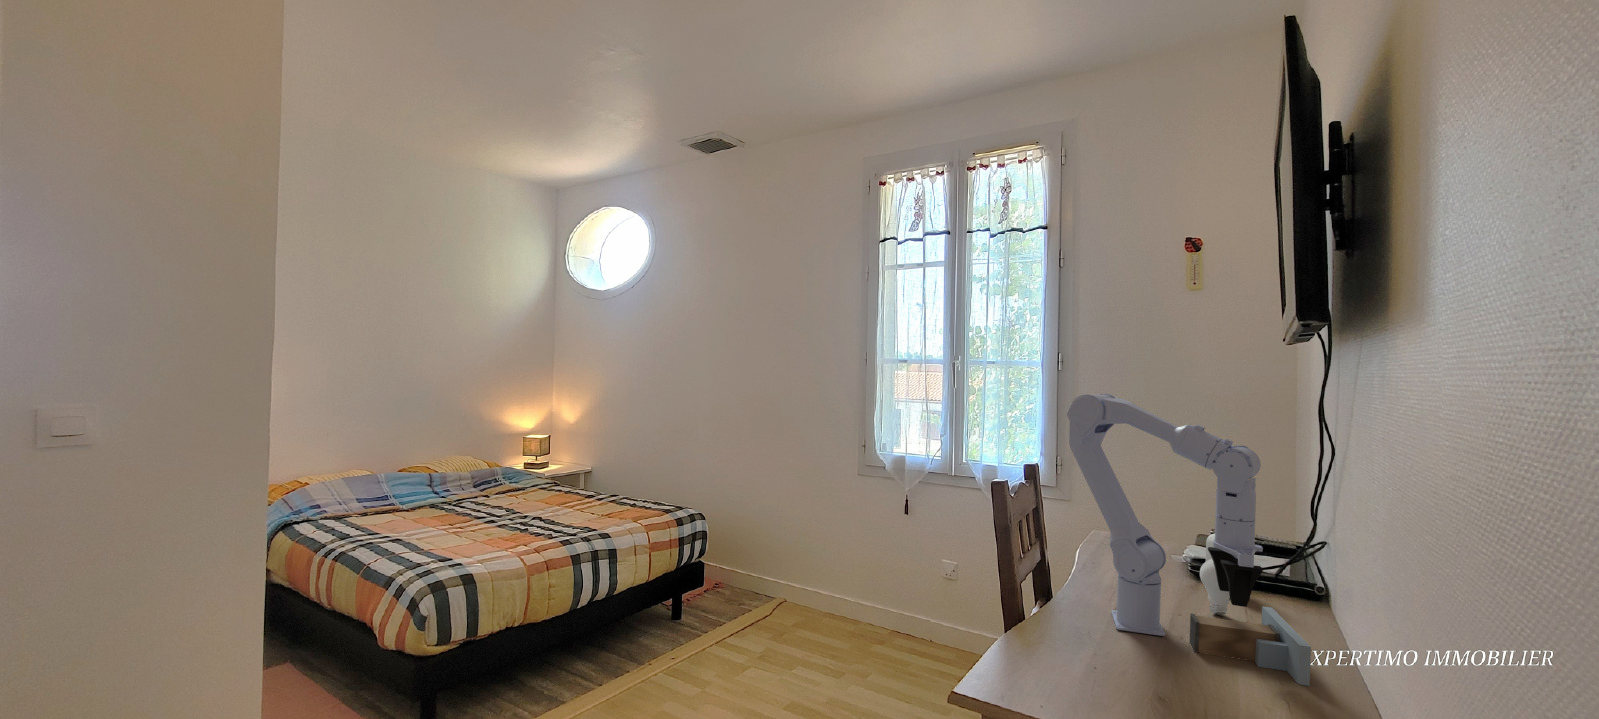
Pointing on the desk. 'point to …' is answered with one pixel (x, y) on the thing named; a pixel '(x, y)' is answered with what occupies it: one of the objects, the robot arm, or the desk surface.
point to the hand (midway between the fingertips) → (1232, 597)
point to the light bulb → (1214, 589)
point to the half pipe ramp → (1228, 636)
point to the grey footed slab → (1284, 649)
